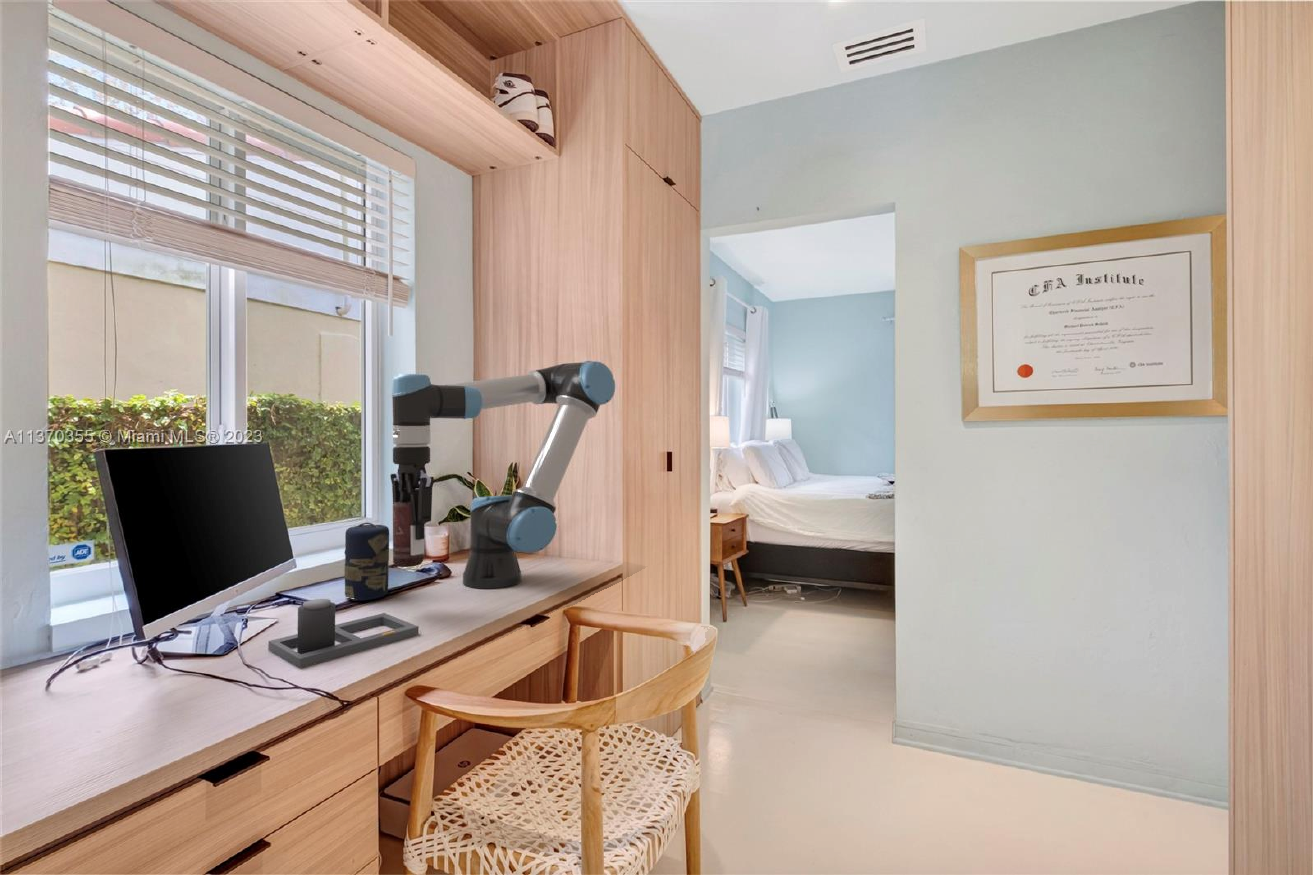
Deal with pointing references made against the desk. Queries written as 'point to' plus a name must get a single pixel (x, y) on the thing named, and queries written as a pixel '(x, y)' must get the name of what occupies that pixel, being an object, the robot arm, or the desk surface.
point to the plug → (316, 625)
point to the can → (403, 536)
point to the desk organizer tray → (345, 640)
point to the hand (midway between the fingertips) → (412, 552)
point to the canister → (366, 561)
